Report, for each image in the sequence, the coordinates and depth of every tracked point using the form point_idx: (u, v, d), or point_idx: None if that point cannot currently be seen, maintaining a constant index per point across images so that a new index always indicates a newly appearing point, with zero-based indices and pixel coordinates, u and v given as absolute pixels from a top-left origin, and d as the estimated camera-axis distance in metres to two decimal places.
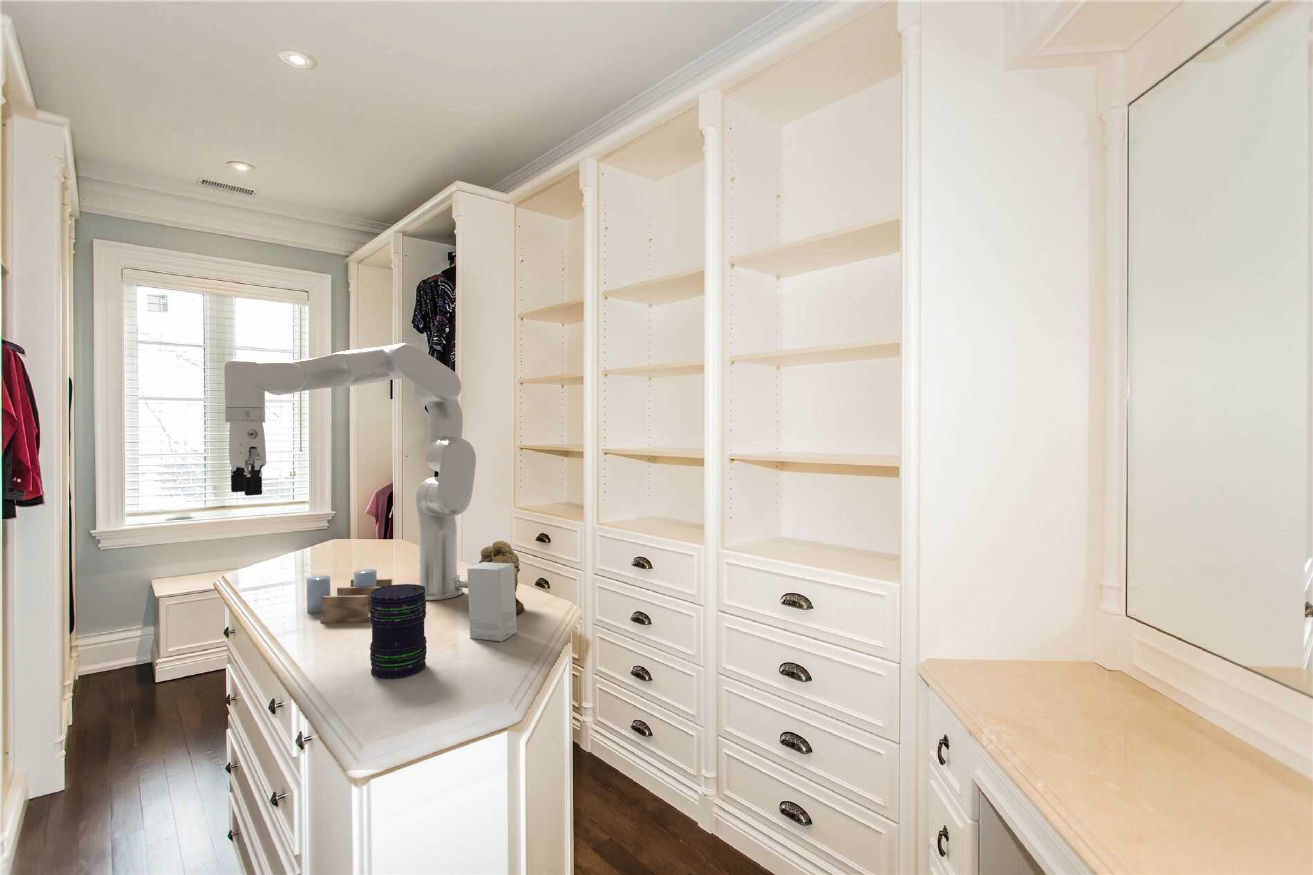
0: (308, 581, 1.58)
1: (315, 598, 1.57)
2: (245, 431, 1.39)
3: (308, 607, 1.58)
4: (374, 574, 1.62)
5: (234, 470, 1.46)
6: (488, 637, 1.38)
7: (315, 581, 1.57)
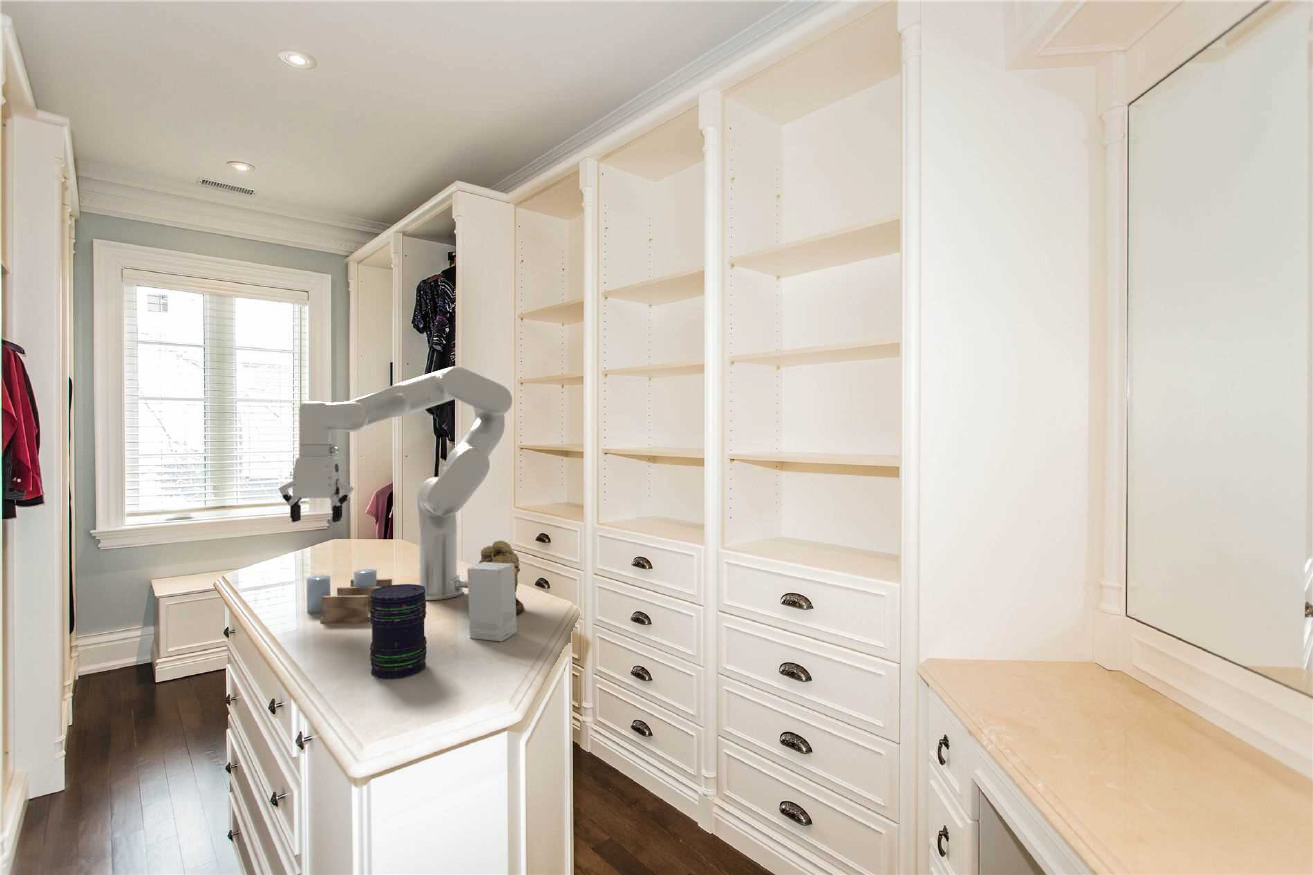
0: (308, 581, 1.58)
1: (315, 598, 1.57)
2: (333, 465, 1.58)
3: (308, 607, 1.58)
4: (374, 574, 1.62)
5: (295, 501, 1.58)
6: (488, 637, 1.38)
7: (315, 581, 1.57)
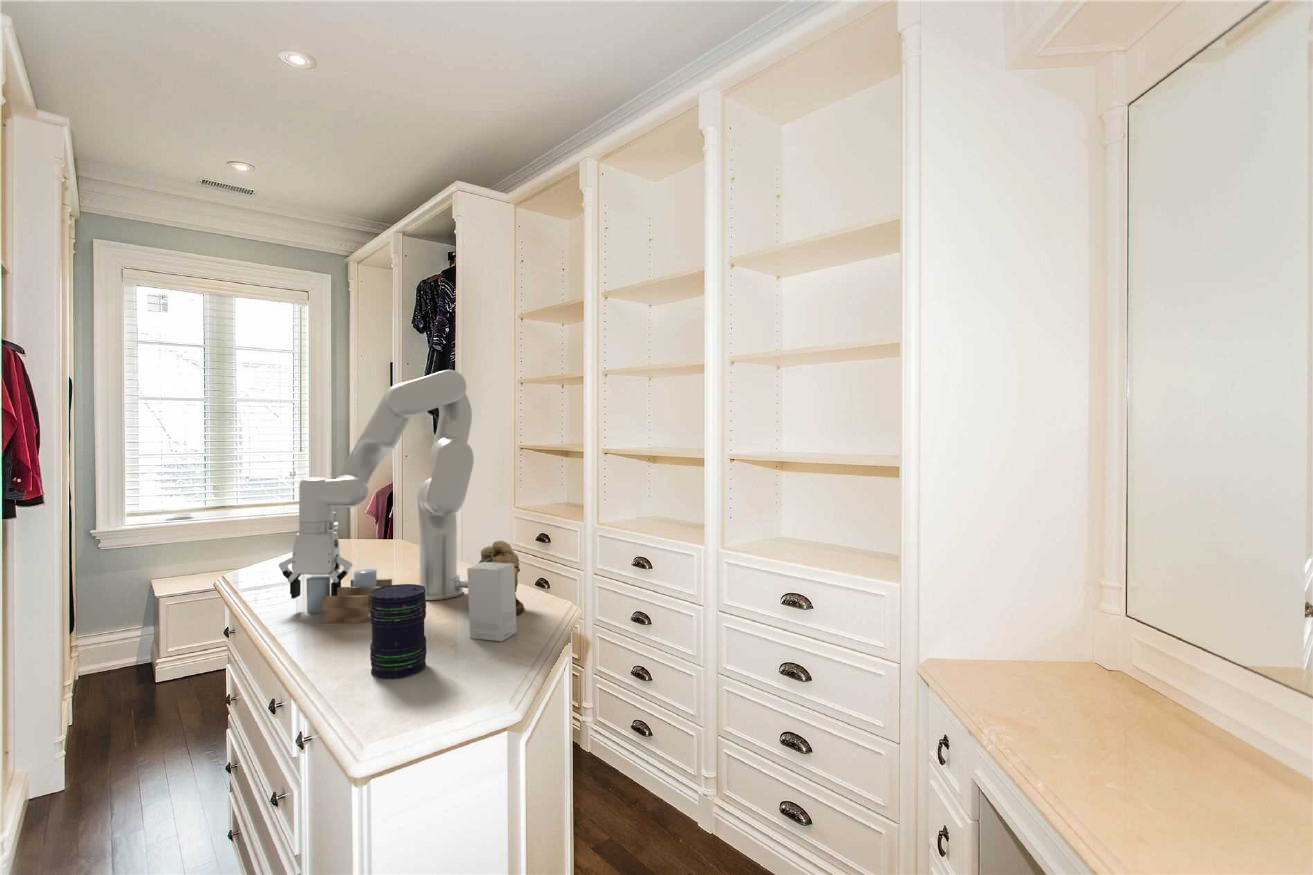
0: (308, 581, 1.58)
1: (315, 598, 1.57)
2: (332, 542, 1.58)
3: (308, 607, 1.58)
4: (374, 574, 1.62)
5: (295, 578, 1.58)
6: (488, 637, 1.38)
7: (315, 581, 1.57)
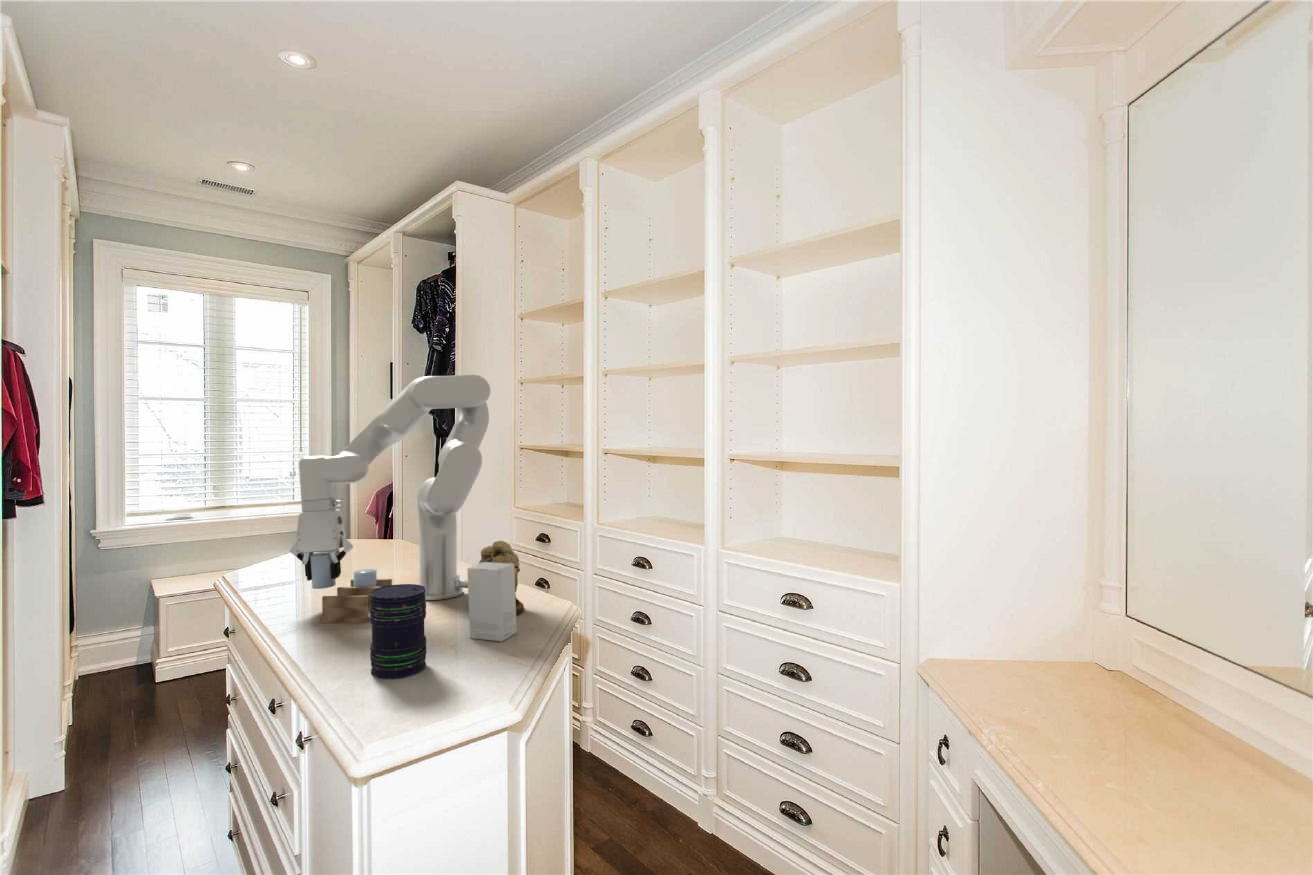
0: (312, 557, 1.58)
1: (320, 574, 1.58)
2: (336, 519, 1.59)
3: (313, 583, 1.58)
4: (374, 574, 1.62)
5: (308, 558, 1.59)
6: (488, 637, 1.38)
7: (319, 557, 1.58)
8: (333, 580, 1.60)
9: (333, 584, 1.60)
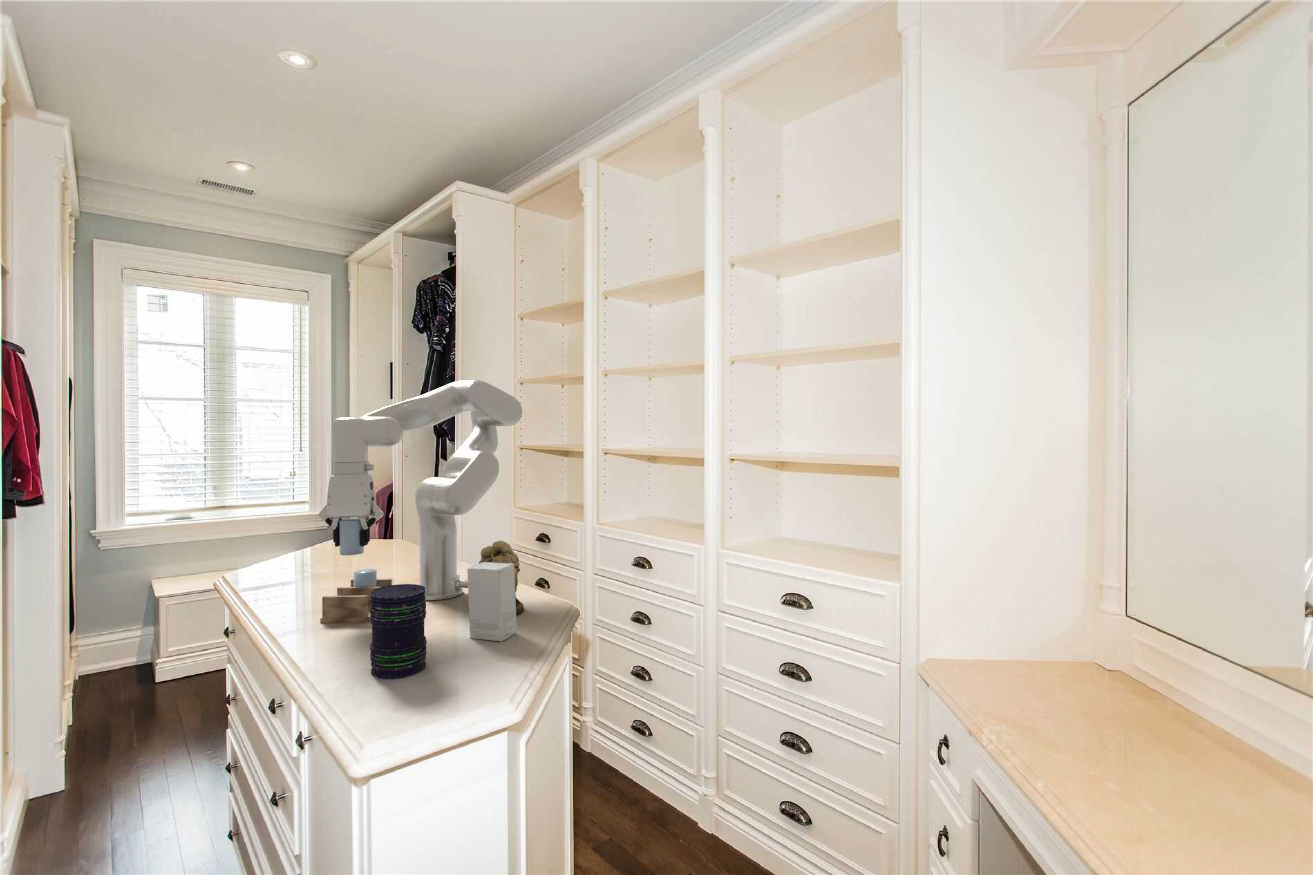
0: (341, 522, 1.52)
1: (349, 540, 1.52)
2: (368, 483, 1.53)
3: (341, 549, 1.52)
4: (374, 574, 1.62)
5: (337, 524, 1.53)
6: (488, 637, 1.38)
7: (348, 522, 1.52)
8: (361, 547, 1.54)
9: (361, 551, 1.54)
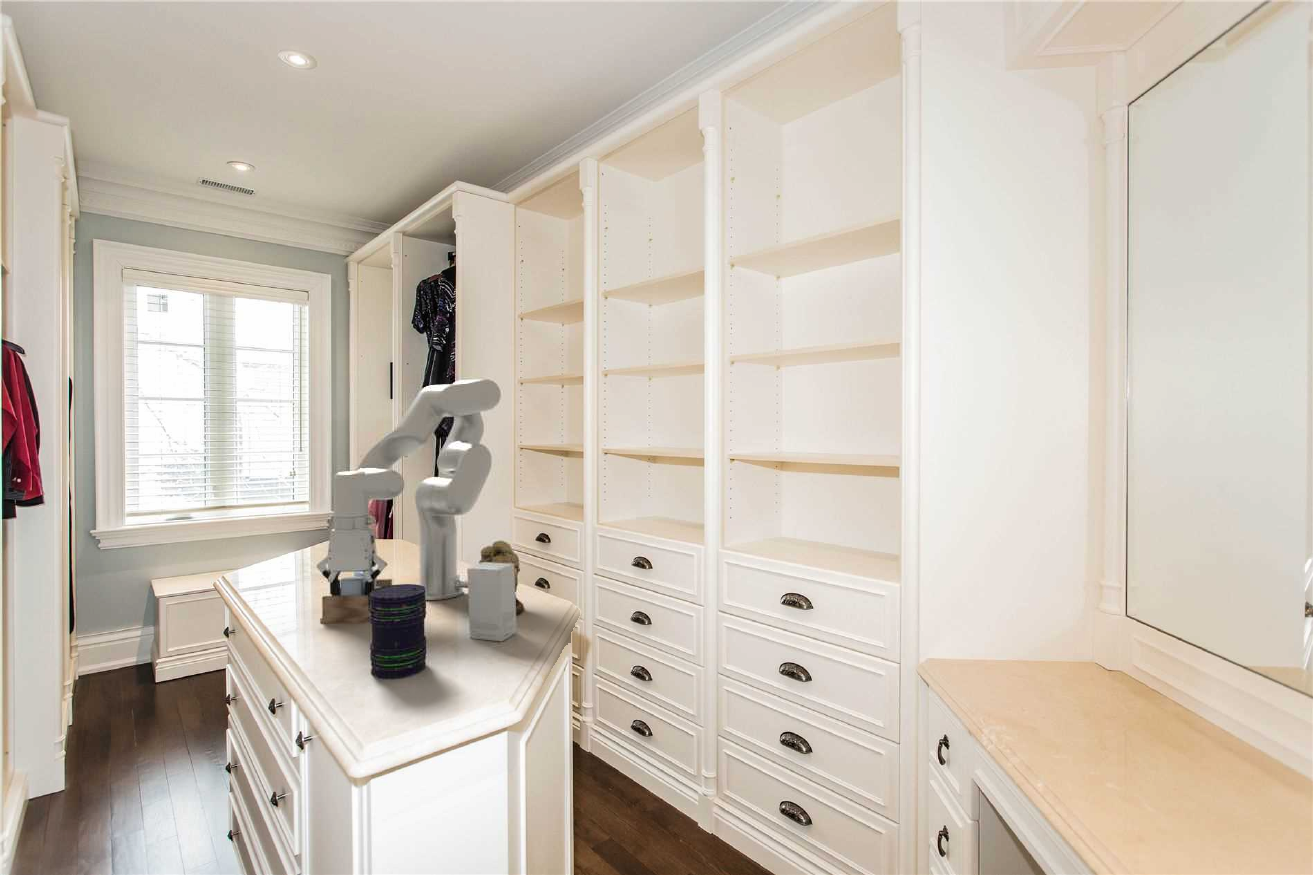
0: (342, 582, 1.52)
1: None
2: (369, 537, 1.53)
3: None
4: None
5: (334, 577, 1.53)
6: (488, 637, 1.38)
7: (350, 582, 1.52)
8: None
9: None
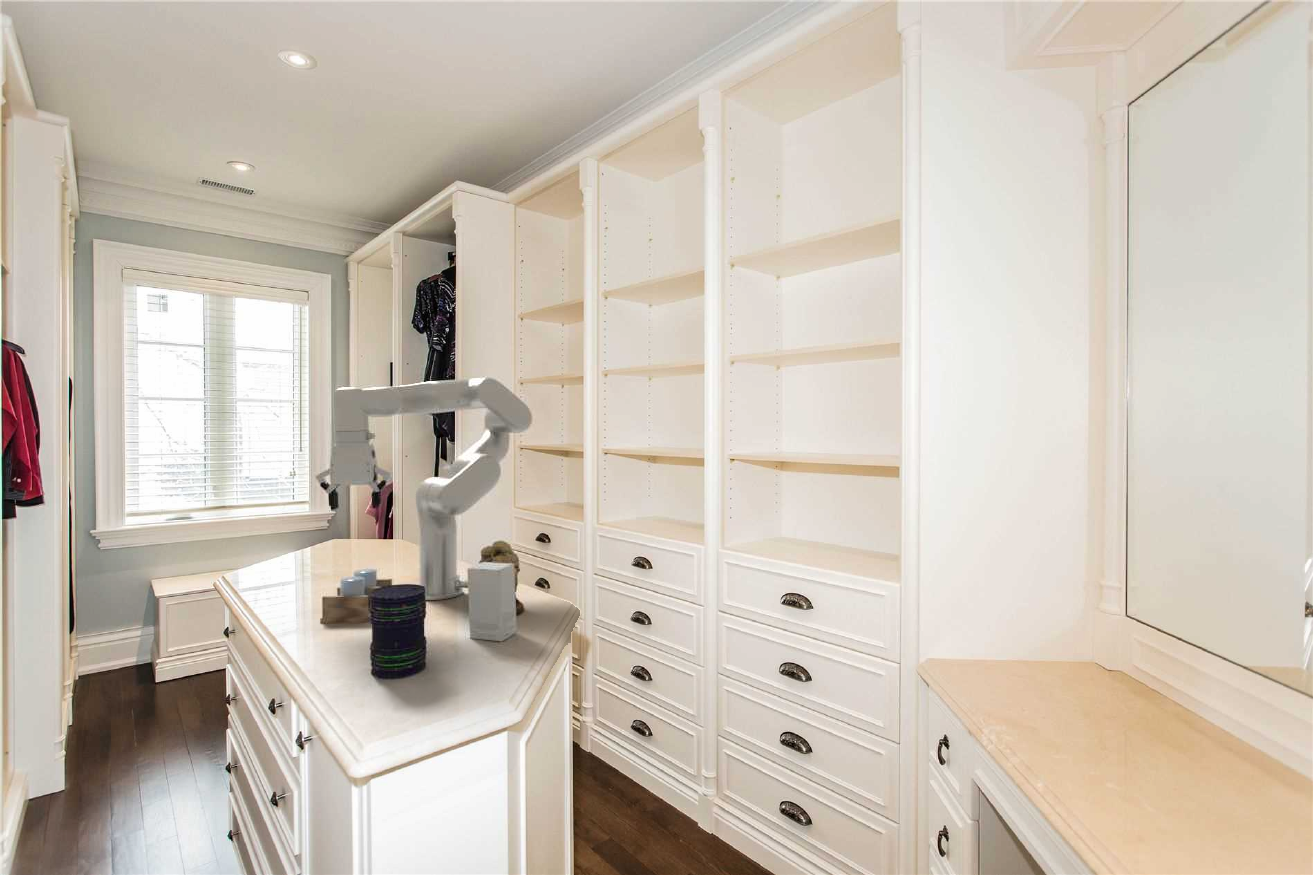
0: (342, 582, 1.52)
1: None
2: (370, 451, 1.57)
3: None
4: (374, 574, 1.62)
5: (333, 489, 1.57)
6: (488, 637, 1.38)
7: (350, 582, 1.52)
8: None
9: None
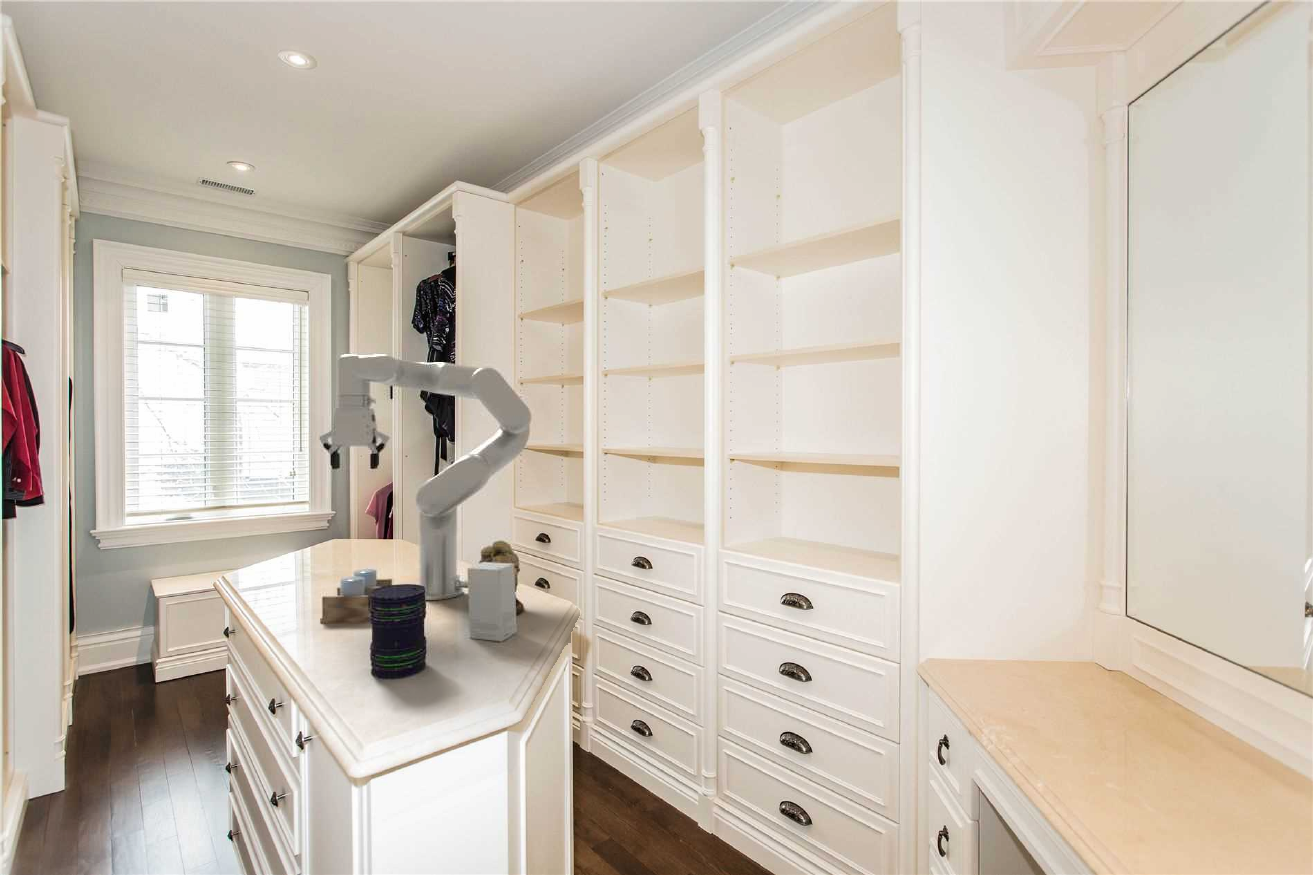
0: (342, 582, 1.52)
1: None
2: (370, 415, 1.67)
3: None
4: (374, 574, 1.62)
5: (335, 450, 1.67)
6: (488, 637, 1.38)
7: (350, 582, 1.52)
8: None
9: None
